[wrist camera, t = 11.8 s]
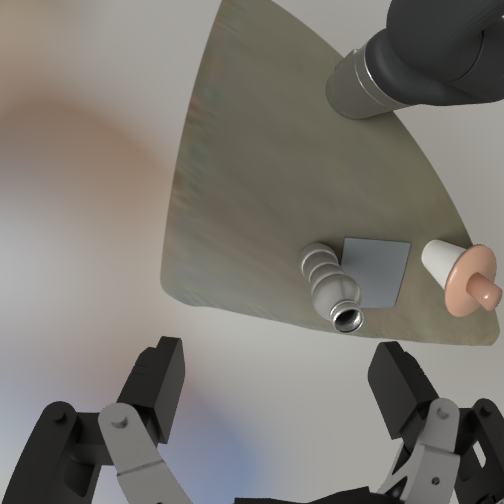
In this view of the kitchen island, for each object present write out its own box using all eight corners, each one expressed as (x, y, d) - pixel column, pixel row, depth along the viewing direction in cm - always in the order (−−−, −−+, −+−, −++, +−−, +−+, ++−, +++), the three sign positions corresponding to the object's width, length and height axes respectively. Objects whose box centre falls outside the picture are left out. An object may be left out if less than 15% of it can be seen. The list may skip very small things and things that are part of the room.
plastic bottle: (302, 234, 46) (333, 290, 27) (338, 245, 46) (385, 302, 28) (290, 268, 48) (311, 339, 29) (325, 277, 49) (361, 347, 30)
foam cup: (455, 246, 46) (493, 270, 34) (432, 281, 49) (466, 312, 37) (432, 223, 45) (473, 244, 32) (407, 262, 47) (443, 292, 35)
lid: (456, 241, 32) (484, 258, 26) (500, 246, 32) (525, 261, 26) (434, 316, 37) (455, 340, 30) (479, 311, 37) (499, 330, 30)
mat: (344, 237, 46) (345, 237, 46) (409, 242, 46) (410, 243, 46) (332, 306, 51) (332, 307, 50) (393, 306, 51) (393, 307, 50)
